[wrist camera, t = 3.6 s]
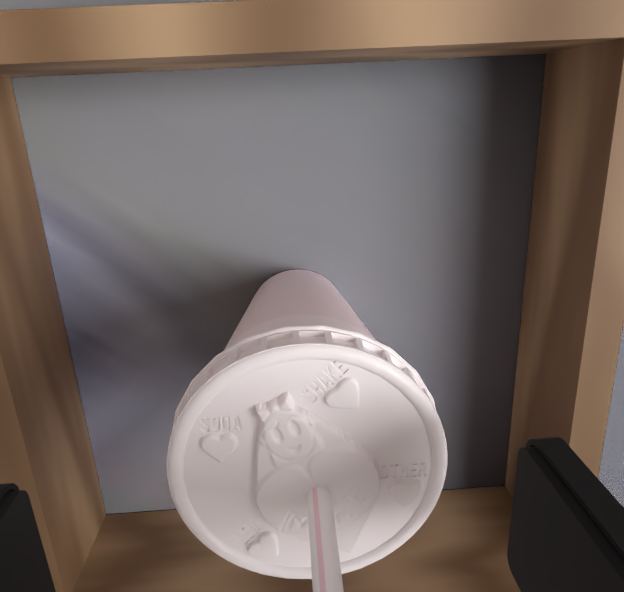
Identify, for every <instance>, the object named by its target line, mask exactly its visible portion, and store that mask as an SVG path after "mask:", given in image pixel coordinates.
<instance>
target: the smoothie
mask: <svg viewBox="0 0 624 592" xmlns="http://www.w3.org/2000/svg"><path fill="white" fill-rule="evenodd" d="M447 462H448V451H447V441H446V437H445V432H444V429H443V426H442V423H441V420H440V418H439V416H438V413H437V411H436V407H435V403H434V399H433V397H432V395H431V394H430V392H429V390H428V389H427V387H426V385H425V384H424V382H423V380H422V379H421V377H420V375H419V374H418V372H417V371H416V370H415V369H414V368H413V367H412V366H411V365H410V364H408V363H407V362H406V361H405V360H404V359H403V358H402V357H401V356H400V355H398V354H397V353H396V352H395V351H394V350H393V349H392V348H390V347H388V346H386V345H384V344H382V343H380V342H378V341H376V340H375V338H374V337H373V336H372V334H371V333H370V332H369V330H368V329H367V328H366V327H365V325H364V324H363V323H362V321H361V320H360V319H359V317H358V316H357V315H356V313H355V312H354V311H353V310H352V308H351V307H350V306H349V304H348V303H347V302H346V300H345V299H344V298H343V297H342V295H341V294H340V293H339V291H338V290H337V289H336V287H335V286H334V285H333V284H332V283H331V282H330V281H329V280H328V279H326V278H325V277H323V276H322V275H320V274H317V273H315V272H312V271H308V270H300V269H296V270H288V271H284V272H281V273H278V274H276V275H274V276H272V277H271V278H269V279H268V280H267V281H265V282H264V283H263V284H262V285H261V287H260V288H259V289H258V291H257V292H256V294H255V296H254V298H253V299H252V301H251V303H250V305H249V306H248V308H247V310H246V312H245V314H244V315H243V317H242V319H241V321H240V322H239V324H238V326H237V328H236V330H235V331H234V333H233V335H232V337H231V338H230V340H229V342H228V344H227V346H226V347H225V349H224V351H223V352H221V353H219V354H218V355H216V356H215V357H214V358H213V359H212V360H211V361H210V362H209V363H208V364H207V365H206V366H205V367H204V368H203V369H202V370H201V371H200V372H199V373H198V374H197V375H196V376H195V377H194V379H193V380H192V381H191V382H190V384H189V386H188V388H187V390H186V392H185V394H184V396H183V397H182V399H181V401H180V403H179V405H178V407H177V409H176V412H175V417H174V422H173V428H172V433H171V438H170V441H169V445H168V451H167V463H166V470H167V480H168V486H169V490H170V494H171V497H172V500H173V502H174V505H175V507H176V509H177V511H178V513H179V515H180V516H181V518H182V520H183V521H184V523H185V524H186V525H187V527H188V528H189V529H190V531H191V532H192V533H193V534H194V535H195V536H196V537H197V538H198V539H199V540H200V541H201V542H202V543H203V544H204V545H205V546H206V547H208V548H209V549H210V550H212V551H213V552H214V553H216V554H217V555H219V556H220V557H222V558H224V559H225V560H227V561H229V562H231V563H233V564H235V565H237V566H239V567H242V568H245V569H247V570H250V571H253V572H257V573H260V574H263V575H269V576H274V577H280V578H286V579H312V587H313V592H344V589H343V582H342V574H344V573H348V572H351V571H354V570H358V569H361V568H363V567H365V566H367V565H370V564H372V563H374V562H376V561H378V560H380V559H382V558H384V557H385V556H387V555H388V554H390V553H392V552H393V551H395V550H396V549H397V548H399V547H400V546H401V545H403V544H404V543H405V542H406V541H407V540H408V539H409V538H411V537H412V536H413V535H414V534H415V533H416V532H417V530H418V529H419V528H420V527H421V526H422V525H423V523H424V522H425V521H426V520H427V518H428V517H429V515H430V514H431V512H432V510H433V509H434V507H435V505H436V503H437V501H438V499H439V497H440V494H441V491H442V489H443V485H444V481H445V477H446V472H447Z"/></svg>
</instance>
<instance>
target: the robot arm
mask: <svg viewBox="0 0 624 592" xmlns="http://www.w3.org/2000/svg"><path fill="white" fill-rule="evenodd" d="M507 558H508V564H509V567H510V571H511V573H512V575H513V577H514V579H515V581H516V583H517V585H518V587H519V589H520V591H521V592H624V507H623V506H621V505H620V504H619V502H618V501H617V500H616V499H615V498H614V497H613V496H612V494H611V493H610V492H609V491H608V490H607V489H606V488H605V486H604V485H603V484H602V483H601V482H600V481H599V480H598V478H597V477H596V476H595V475H594V474H593V473H592V472H591V470H590V469H589V468H588V467H587V466H586V465H585V464H584V462H583V461H582V460H581V459H580V458H579V457H578V456H577V454H576V453H575V452H574V451H573V450H572V449H571V448H570V446H569V445H568V444H567V443H566V442H565V441H564V440H563V439H562V438H560V437H549V438H538V439H530V440H528V442H527V443H526V447H523V448H520V449H519V451H518V458H517V467H516V476H515V485H514V495H513V504H512V513H511V523H510V532H509V541H508V550H507ZM0 592H56V591H55V587H54V583H53V580H52V576H51V573H50V569H49V566H48V562H47V559H46V555H45V551H44V548H43V544H42V541H41V537H40V534H39V530H38V527H37V523H36V520H35V516H34V512H33V509H32V505H31V502H30V498H29V495H28V493H27V492H26V491H24V490H19V488H18V486H17V485H16V484H14V483H6V484H0Z"/></svg>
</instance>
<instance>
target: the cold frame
mask: <svg viewBox="0 0 624 592" xmlns="http://www.w3.org/2000/svg"><path fill="white" fill-rule="evenodd" d="M529 54H546V62H545V73H544V83H543V93H542V104H541V114H540V125H539V135H538V146H537V156H536V167H535V177H534V188H533V198H532V209H531V219H530V230H529V240H528V251H527V261H526V272H525V282H524V293H523V303H522V314H521V324H520V334H519V345H518V355H517V366H516V376H515V387H514V397H513V408H512V418H511V429H510V439H509V450H508V460H507V471H506V481H505V486H494V487H480V488H466V489H453V490H442V491H441V494H440V497H439V499H438V501H437V503H436V505H435V507H434V509H433V510H432V512H431V514H430V515H429V517H428V518H427V520H426V521H425V522H424V523H423V525H422V526H421V527H420V528H419V529H418V530H417V532H416V533H415V534H414V535H413V536H412V537H411V538H409V539H408V540H407V541H406V542H405V543H404V544H403V545H401V546H400V547H399V548H397V549H396V550H395V551H393V552H392V553H390V554H388V555H387V556H385V557H384V558H382V559H380V560H378V561H376V562H374V563H372V564H370V565H367V566H365V567H363V568H361V569H358V570H354V571H351V572H348V573H344V574H342V582H343V589H344V592H521V591H520V589H519V587H518V585H517V583H516V581H515V579H514V577H513V575H512V573H511V571H510V567H509V564H508V558H507V550H508V541H509V532H510V523H511V513H512V504H513V495H514V485H515V476H516V467H517V458H518V451H519V449H520V448H523V447H526V443H527V442H528V440H530V439H538V438H549V437H560V438H562V439H563V440H564V441H565V442H566V443H567V444H568V445H569V446H570V448H571V449H572V450H573V451H574V452H575V453H576V454H577V456H578V457H579V458H580V459H581V460H582V461H583V462H584V464H585V465H586V466H587V467H588V468H589V469H590V470H591V472H592V473H593V474H594V475H595V476H596V477H597V478H598V474H599V468H600V462H601V456H602V450H603V444H604V438H605V432H606V426H607V420H608V414H609V408H610V402H611V396H612V390H613V384H614V378H615V372H616V366H617V360H618V354H619V348H620V342H621V336H622V330H623V324H624V0H246V1H221V2H196V3H171V4H146V5H121V6H96V7H71V8H45V9H20V10H0V484H6V483H14V484H16V485H17V486H18V488H19V490H24V491H26V492H27V493H28V495H29V498H30V502H31V505H32V509H33V512H34V516H35V520H36V523H37V527H38V530H39V534H40V537H41V541H42V544H43V548H44V551H45V555H46V559H47V562H48V566H49V569H50V573H51V576H52V580H53V583H54V587H55V591H56V592H313V587H312V579H286V578H280V577H274V576H269V575H263V574H260V573H257V572H253V571H250V570H247V569H245V568H242V567H239V566H237V565H235V564H233V563H231V562H229V561H227V560H225V559H224V558H222V557H220V556H219V555H217V554H216V553H214V552H213V551H212V550H210V549H209V548H208V547H206V546H205V545H204V544H203V543H202V542H201V541H200V540H199V539H198V538H197V537H196V536H195V535H194V534H193V533H192V532H191V531H190V529H189V528H188V527H187V525H186V524H185V523H184V521H183V520H182V518H181V516H180V515H179V513H178V511H177V510H163V511H150V512H136V513H122V514H108V515H106V512H105V508H104V503H103V498H102V494H101V489H100V485H99V480H98V475H97V471H96V466H95V462H94V457H93V453H92V448H91V443H90V439H89V434H88V430H87V425H86V420H85V416H84V411H83V407H82V402H81V398H80V393H79V388H78V384H77V379H76V375H75V370H74V365H73V361H72V356H71V352H70V347H69V343H68V338H67V333H66V329H65V324H64V320H63V315H62V310H61V306H60V301H59V297H58V292H57V288H56V283H55V278H54V274H53V269H52V265H51V260H50V255H49V251H48V246H47V242H46V237H45V233H44V228H43V223H42V219H41V214H40V210H39V205H38V200H37V196H36V191H35V187H34V182H33V178H32V173H31V168H30V164H29V159H28V155H27V150H26V145H25V141H24V136H23V132H22V127H21V123H20V118H19V113H18V109H17V104H16V100H15V95H14V90H13V86H12V81H11V77H32V76H55V75H77V74H100V73H122V72H145V71H167V70H190V69H213V68H235V67H258V66H280V65H303V64H325V63H348V62H371V61H393V60H416V59H438V58H461V57H484V56H506V55H529Z"/></svg>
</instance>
